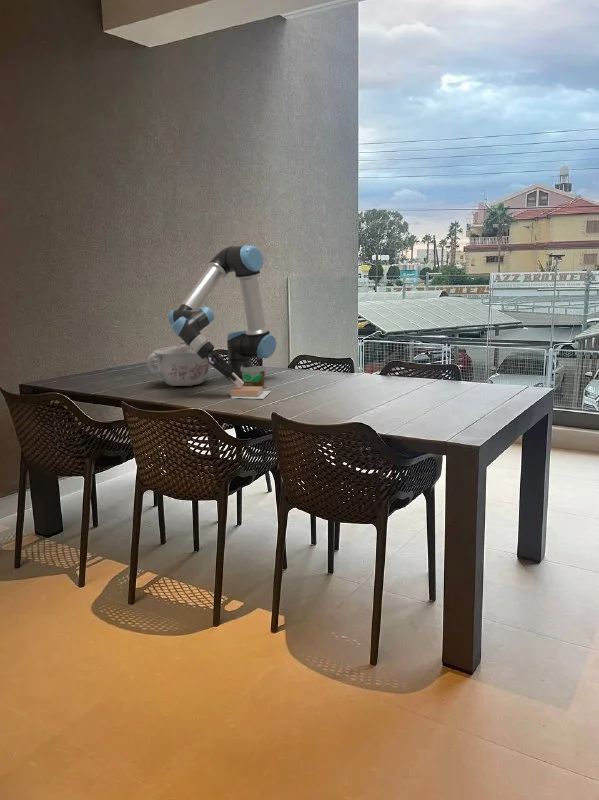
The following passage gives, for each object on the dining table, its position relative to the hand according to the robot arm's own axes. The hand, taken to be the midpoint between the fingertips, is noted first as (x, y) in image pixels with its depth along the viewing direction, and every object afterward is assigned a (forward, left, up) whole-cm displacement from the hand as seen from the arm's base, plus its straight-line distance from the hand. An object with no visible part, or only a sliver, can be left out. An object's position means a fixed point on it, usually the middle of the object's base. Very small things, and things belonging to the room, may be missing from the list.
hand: (241, 385), depth 277 cm
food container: (-17, 0, -5) cm, 18 cm away
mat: (0, +4, -5) cm, 6 cm away
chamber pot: (-25, -35, -5) cm, 43 cm away
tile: (0, -4, -3) cm, 5 cm away
